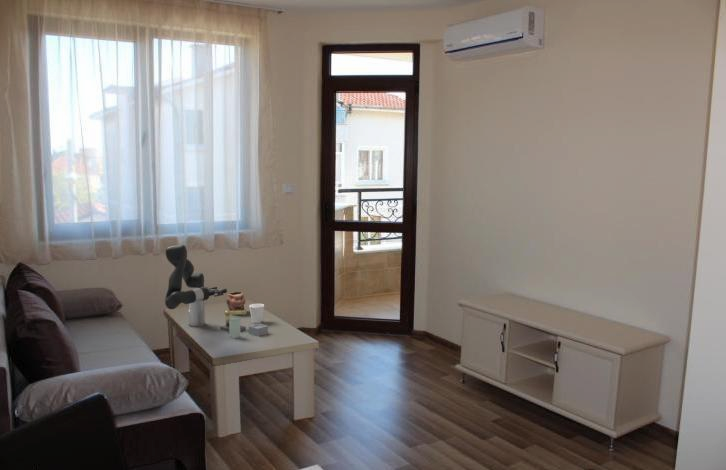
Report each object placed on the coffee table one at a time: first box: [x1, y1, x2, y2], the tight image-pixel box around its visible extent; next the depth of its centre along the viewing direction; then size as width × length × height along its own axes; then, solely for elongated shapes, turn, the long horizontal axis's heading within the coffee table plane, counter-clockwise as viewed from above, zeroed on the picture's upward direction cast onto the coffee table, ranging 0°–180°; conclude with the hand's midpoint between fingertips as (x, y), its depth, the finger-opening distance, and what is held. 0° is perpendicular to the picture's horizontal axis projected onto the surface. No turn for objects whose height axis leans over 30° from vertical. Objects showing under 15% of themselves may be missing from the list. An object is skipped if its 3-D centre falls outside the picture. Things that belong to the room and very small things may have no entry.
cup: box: [248, 303, 265, 324], centre depth 394 cm, size 10×10×11 cm
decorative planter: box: [225, 291, 246, 311], centre depth 417 cm, size 20×12×14 cm, turn 37°
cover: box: [228, 317, 241, 339], centre depth 363 cm, size 5×5×11 cm
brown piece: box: [224, 309, 247, 325], centre depth 381 cm, size 13×3×9 cm, turn 94°
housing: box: [248, 323, 269, 337], centre depth 370 cm, size 8×8×5 cm
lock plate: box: [220, 324, 247, 333], centre depth 378 cm, size 13×9×2 cm
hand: (221, 289), depth 354 cm, fingers open, 8 cm apart
